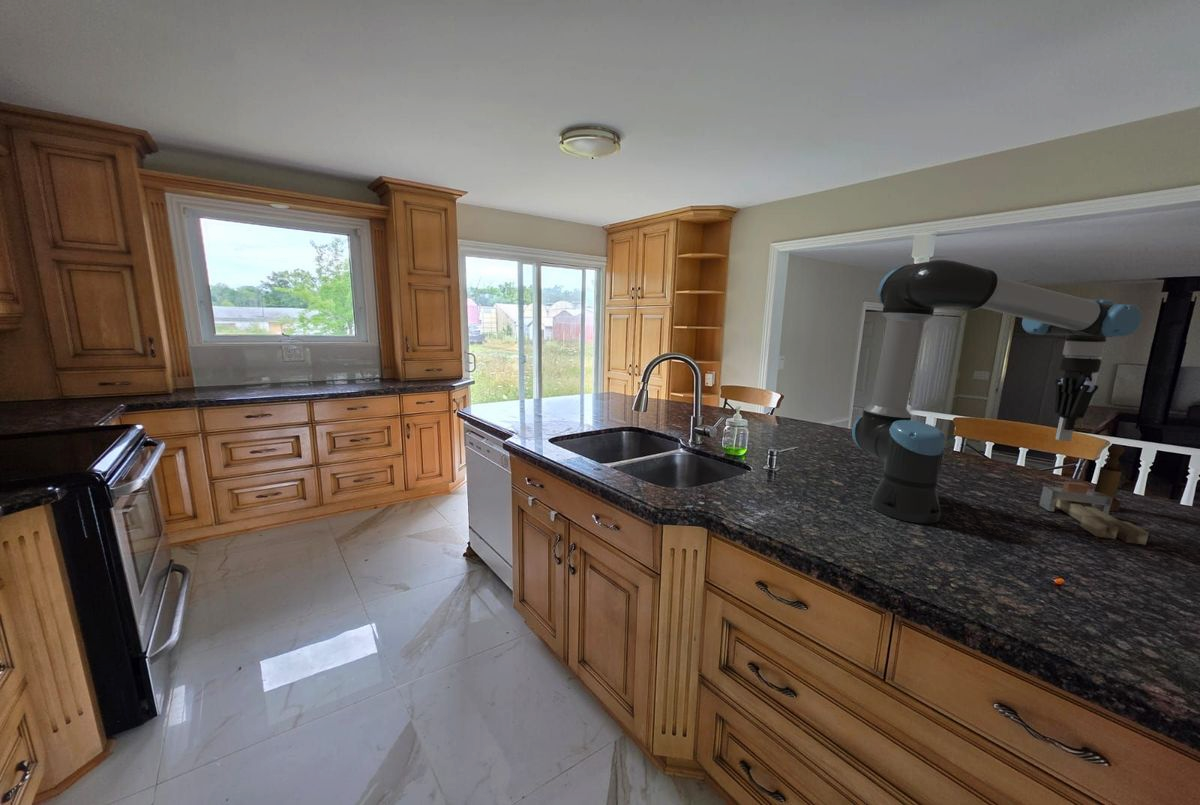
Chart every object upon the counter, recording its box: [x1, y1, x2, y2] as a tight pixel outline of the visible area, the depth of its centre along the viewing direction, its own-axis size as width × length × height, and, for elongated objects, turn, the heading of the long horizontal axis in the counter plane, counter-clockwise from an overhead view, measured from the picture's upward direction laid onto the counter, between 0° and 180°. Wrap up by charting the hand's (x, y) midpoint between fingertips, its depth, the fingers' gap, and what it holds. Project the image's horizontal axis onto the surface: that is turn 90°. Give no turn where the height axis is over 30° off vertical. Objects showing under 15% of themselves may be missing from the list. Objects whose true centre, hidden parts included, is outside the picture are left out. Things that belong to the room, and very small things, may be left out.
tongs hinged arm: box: [1055, 486, 1119, 540], centre depth 115 cm, size 6×24×4 cm, turn 158°
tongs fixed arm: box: [1056, 501, 1150, 546], centre depth 114 cm, size 5×23×3 cm, turn 162°
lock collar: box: [1038, 480, 1113, 515], centre depth 119 cm, size 12×4×8 cm, turn 72°
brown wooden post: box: [1087, 444, 1125, 512], centre depth 123 cm, size 7×6×18 cm
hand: (1062, 440), depth 126 cm, fingers closed
